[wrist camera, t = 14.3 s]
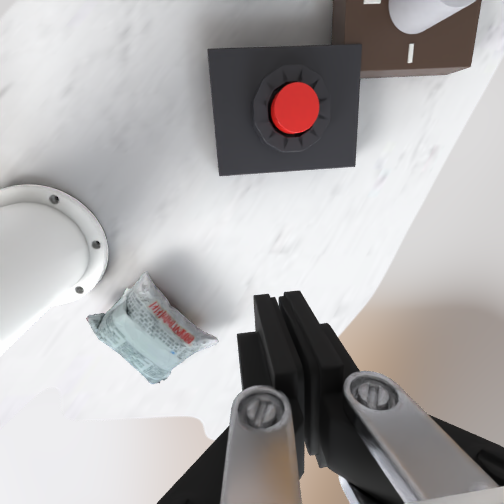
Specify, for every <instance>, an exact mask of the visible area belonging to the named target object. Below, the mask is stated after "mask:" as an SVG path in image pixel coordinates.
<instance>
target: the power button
mask: <svg viewBox="0 0 504 504" xmlns="http://www.w3.org/2000/svg"><path fill="white" fill-rule="evenodd" d="M318 113H319V100H318V97H317V94H316V93H315V91H314V90H313V89H312V88H311V87H310V86H309V85H307V84H305V83H302V82H293V83H290V84H288V85H286V86H285V87H284V88H282V89H281V90H280V91H279V92H278V93H277V94H276V96H275V97H274V99H273V101H272V104H271V117H272V120H273V123H274V124H275V126H276V127H277V128H278V129H279V130H280V131H282V132H284V133H287V134H295V133H300V132H303V131H305V130H307V129H309V128H310V127H311V126H312V125H313V124H314V122H315V121H316V119H317V116H318Z"/></svg>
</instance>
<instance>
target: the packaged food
mask: <svg viewBox="0 0 504 504" xmlns="http://www.w3.org/2000/svg"><path fill="white" fill-rule="evenodd" d="M86 319H87V321H88V322H89V324H90V326H91V328H92V330H93V331H94V333H95V334H96V336H97V337H98V339H99V340H100V341H102V342H103V343H105V344H106V345H108V346H109V347H110V348H112V349H113V350H115V351H116V352H117V353H119V354H120V355H121V356H122V357H123V358H124V359H125V360H126V361H128V362H129V363H130V364H131V365H132V366H133V367H134V368H135V369H137V370H138V371H139V372H140V373H141V374H142V375H143V376H144V377H145V378H146V379H147V380H148V382H149V383H151V384H155V383H160V381H161V380H165V379H167V378H168V376H169V375H170V373H171V370H172V369H173V368H174V367H176V366H177V365H178V364H180V363H181V362H183V361H184V360H185V359H186V358H188V357H189V356H191V355H192V354H194V353H196V352H198V351H200V350H203V349H205V348H209V347H211V346H213V345H216V344H217V343H218V342H219V341H218V339H217V338H216V337H214V336H212V335H211V334H208V333H205V332H204V331H202V330H201V329H200V328H198V327H197V326H195V325H194V324H193V323H192V322H191V321H189V320H188V319H187V318H186V317H185V316H184V315H182V314H181V313H180V312H179V311H178V310H177V309H176V308H174V307H172V306H171V305H170V303H169V301H168V300H167V298H166V297H165V296H164V295H163V293H162V292H161V291H160V290H159V289H158V288H157V287H156V285H155V284H154V283H153V281H152V280H151V279H150V277H149V275H148V273H147V271H146V272H144V273H143V274H142V276H141V277H140V279H139V280H138V281H137V282H136V283H135V285H134V286H133V288H132V289H129V288H126V289H125V292H124V294H123V296H122V297H121V298H120V299H119V301H118V302H117V303H116V304H115V305H114V306H113V307H112V308H111V309H110V310H109V311H107V312H106V314H104V313H101V314H94V315H89V316H88V317H87V318H86Z"/></svg>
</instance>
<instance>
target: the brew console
mask: <svg viewBox="0 0 504 504" xmlns="http://www.w3.org/2000/svg"><path fill="white" fill-rule="evenodd" d="M481 1H482V0H476V1H475V2H473V3H472V4H470V5H468V6H467V7H465V8H463V9H461V10H460V11H458V12H456V13H454V14H453V15H451V16H449V17H447V18H446V19H444V20H442V21H440V22H439V23H437V24H435V25H433V26H432V27H430V28H428V29H426V30H425V31H423V32H421V33H417V34H407V33H404V32H402V31H400V30H399V29H398V28H397V27H396V26H395V25H394V23H393V21H392V19H391V16H390V13H389V0H333V17H332V45H346V44H362V53H361V71H360V78H382V77H405V76H429V75H447V74H450V73H453V72H456V71H459V70H463V69H466V68H469V67H471V62H472V56H473V50H474V44H475V38H476V32H477V25H478V19H479V13H480V7H481Z"/></svg>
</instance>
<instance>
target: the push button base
mask: <svg viewBox="0 0 504 504" xmlns="http://www.w3.org/2000/svg"><path fill="white" fill-rule="evenodd" d="M361 53H362V44H346V45H315V46H284V47H253V48H221V49H208V61H209V71H210V82H211V93H212V103H213V114H214V125H215V136H216V146H217V157H218V168H219V176H230V175H244V174H258V173H272V172H286V171H300V170H315V169H329V168H343V167H355V161H356V143H357V125H358V107H359V89H360V71H361ZM293 82H302V83H305V84H307V85H309V86H310V87H311V88H312V89H313V90H314V91H315V93H316V94H317V97H318V100H319V113H318V116H317V119H316V121H315V122H314V124H313V125H312V126H311V127H310V128H309V129H307V130H305V131H303V132H300V133H295V134H287V133H284V132H282V131H280V130H279V129H278V128H277V127H276V126H275V124H274V123H273V120H272V117H271V104H272V101H273V99H274V97H275V96H276V94H277V93H278V92H279V91H280V90H281V89H282V88H284V87H285V86H286V85H288V84H290V83H293Z"/></svg>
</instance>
